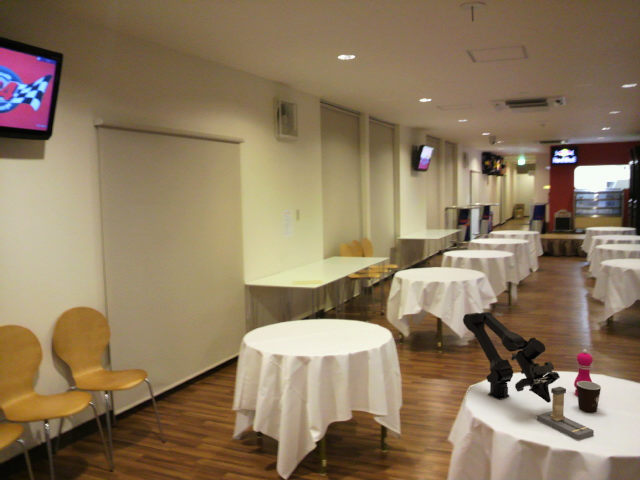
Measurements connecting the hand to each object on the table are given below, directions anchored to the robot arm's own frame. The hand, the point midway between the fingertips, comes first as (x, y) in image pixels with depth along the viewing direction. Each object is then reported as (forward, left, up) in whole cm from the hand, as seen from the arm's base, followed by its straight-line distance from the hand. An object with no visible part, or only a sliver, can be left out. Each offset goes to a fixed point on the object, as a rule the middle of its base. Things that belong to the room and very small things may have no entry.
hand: (549, 402), depth 199 cm
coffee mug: (+4, +23, -7) cm, 24 cm away
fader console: (+7, -1, -7) cm, 10 cm away
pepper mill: (-5, +34, -7) cm, 35 cm away
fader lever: (+4, -1, -5) cm, 6 cm away
